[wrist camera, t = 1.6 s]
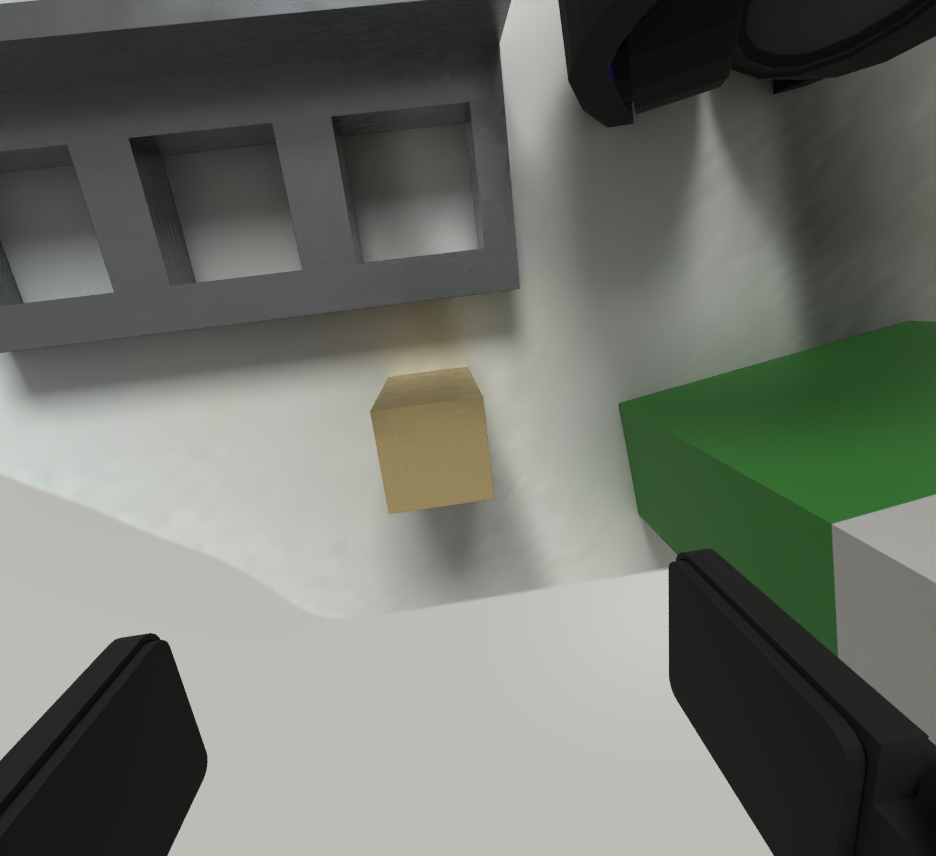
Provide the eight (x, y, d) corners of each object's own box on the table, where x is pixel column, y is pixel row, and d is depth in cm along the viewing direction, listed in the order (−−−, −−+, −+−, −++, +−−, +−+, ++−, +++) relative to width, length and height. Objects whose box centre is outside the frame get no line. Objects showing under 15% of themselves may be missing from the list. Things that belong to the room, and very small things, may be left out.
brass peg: (467, 366, 26) (482, 396, 18) (476, 441, 27) (494, 499, 19) (388, 377, 26) (370, 411, 18) (401, 452, 27) (389, 513, 19)
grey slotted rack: (489, 46, 22) (510, -44, 16) (511, 289, 25) (535, 287, 19) (-88, 104, 21) (-287, 30, 15) (9, 351, 24) (-126, 368, 18)
